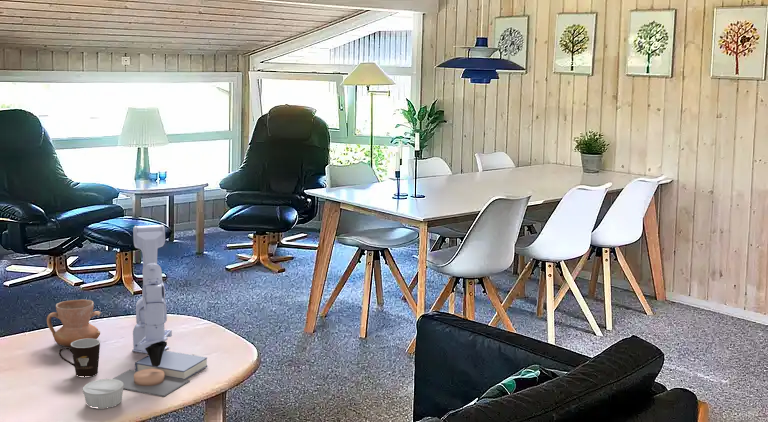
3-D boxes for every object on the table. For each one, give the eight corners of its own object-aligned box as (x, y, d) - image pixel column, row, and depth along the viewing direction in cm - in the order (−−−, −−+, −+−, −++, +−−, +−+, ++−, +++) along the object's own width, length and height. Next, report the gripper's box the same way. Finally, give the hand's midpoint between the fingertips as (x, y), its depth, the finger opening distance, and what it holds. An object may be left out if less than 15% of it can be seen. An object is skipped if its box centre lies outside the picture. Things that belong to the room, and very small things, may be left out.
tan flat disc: (127, 383, 261) (127, 376, 261) (146, 373, 269) (146, 366, 269) (152, 388, 258) (152, 381, 257) (170, 377, 266) (170, 371, 266)
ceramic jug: (108, 336, 304) (105, 297, 301) (96, 350, 289) (93, 309, 287) (56, 337, 303) (53, 298, 300) (41, 351, 289) (38, 310, 286)
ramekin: (85, 413, 240) (84, 395, 239) (81, 398, 250) (80, 381, 249) (126, 407, 245) (126, 390, 244) (121, 393, 255) (121, 376, 254)
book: (135, 371, 271) (134, 362, 271) (160, 358, 283) (159, 349, 283) (183, 380, 265) (183, 371, 264) (207, 366, 277) (207, 357, 276)
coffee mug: (107, 370, 272) (105, 340, 270) (89, 380, 264) (88, 349, 262) (76, 366, 275) (75, 336, 273) (58, 375, 267) (56, 344, 265)
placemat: (102, 385, 260) (102, 383, 260) (130, 370, 272) (129, 369, 272) (164, 396, 252) (164, 395, 252) (189, 381, 264) (189, 380, 264)
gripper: (151, 331, 255) (152, 375, 258) (179, 317, 269) (180, 359, 271) (131, 328, 258) (132, 371, 260) (160, 315, 271) (161, 356, 274)
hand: (156, 365), depth 266 cm, fingers closed
